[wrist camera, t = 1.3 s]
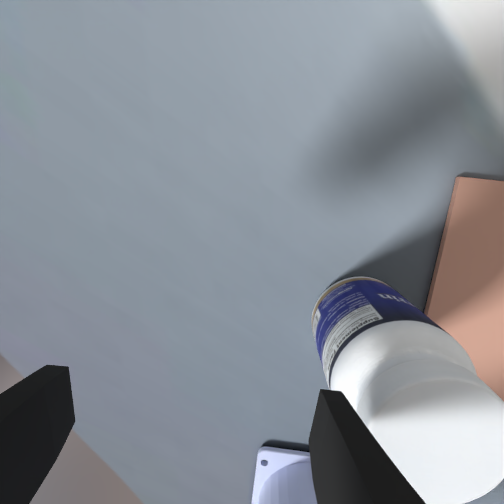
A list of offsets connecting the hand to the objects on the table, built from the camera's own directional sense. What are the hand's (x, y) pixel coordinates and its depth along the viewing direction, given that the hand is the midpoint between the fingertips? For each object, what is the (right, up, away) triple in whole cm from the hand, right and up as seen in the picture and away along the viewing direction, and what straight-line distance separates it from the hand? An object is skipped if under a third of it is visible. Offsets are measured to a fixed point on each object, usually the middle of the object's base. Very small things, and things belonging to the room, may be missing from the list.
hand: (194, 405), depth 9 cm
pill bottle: (+8, 0, +11) cm, 13 cm away
